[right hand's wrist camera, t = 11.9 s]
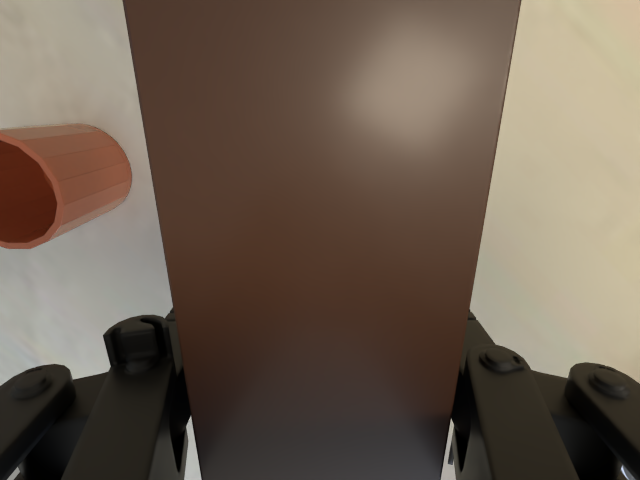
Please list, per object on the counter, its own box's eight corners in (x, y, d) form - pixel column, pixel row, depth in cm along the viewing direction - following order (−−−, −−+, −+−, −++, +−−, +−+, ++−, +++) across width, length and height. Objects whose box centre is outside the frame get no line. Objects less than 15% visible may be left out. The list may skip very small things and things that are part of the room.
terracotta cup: (122, 123, 26) (45, 130, 19) (139, 211, 29) (75, 249, 21) (30, 123, 26) (-83, 130, 19) (54, 211, 29) (-39, 249, 21)
